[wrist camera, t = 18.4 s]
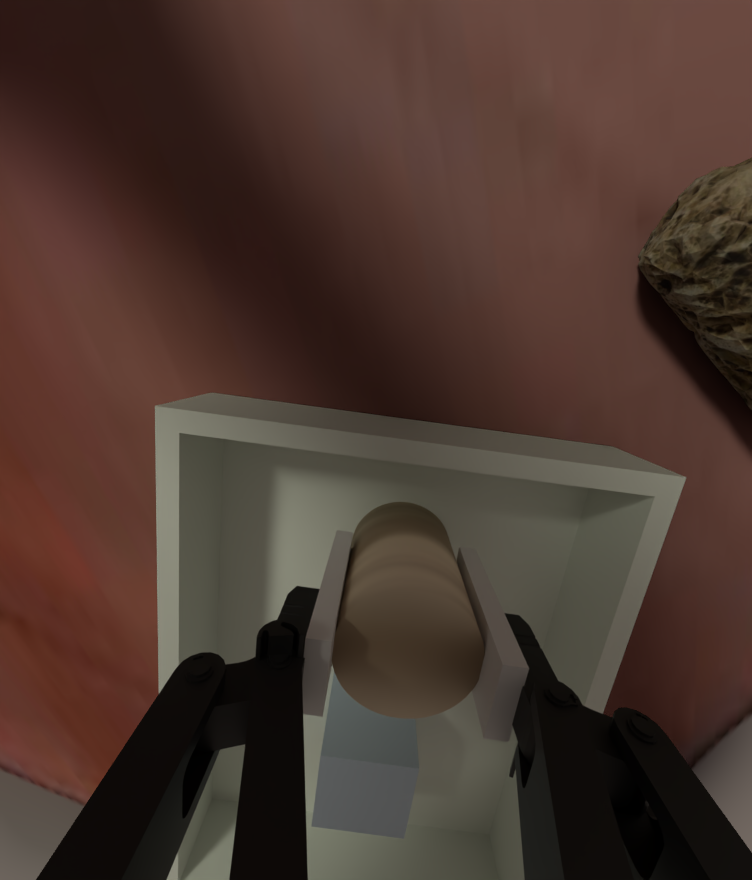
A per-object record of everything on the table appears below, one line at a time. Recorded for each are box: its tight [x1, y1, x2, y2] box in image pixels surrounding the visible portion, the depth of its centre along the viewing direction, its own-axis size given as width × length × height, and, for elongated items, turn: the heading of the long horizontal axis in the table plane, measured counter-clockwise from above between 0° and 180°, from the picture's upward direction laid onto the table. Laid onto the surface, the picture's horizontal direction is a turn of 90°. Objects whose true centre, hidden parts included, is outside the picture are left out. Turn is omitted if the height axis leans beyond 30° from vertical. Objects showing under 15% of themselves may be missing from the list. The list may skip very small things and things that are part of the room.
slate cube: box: [311, 672, 419, 839], centre depth 21 cm, size 5×5×5 cm
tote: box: [155, 393, 686, 880], centre depth 21 cm, size 22×30×5 cm
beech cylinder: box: [332, 502, 485, 719], centre depth 15 cm, size 5×5×7 cm
